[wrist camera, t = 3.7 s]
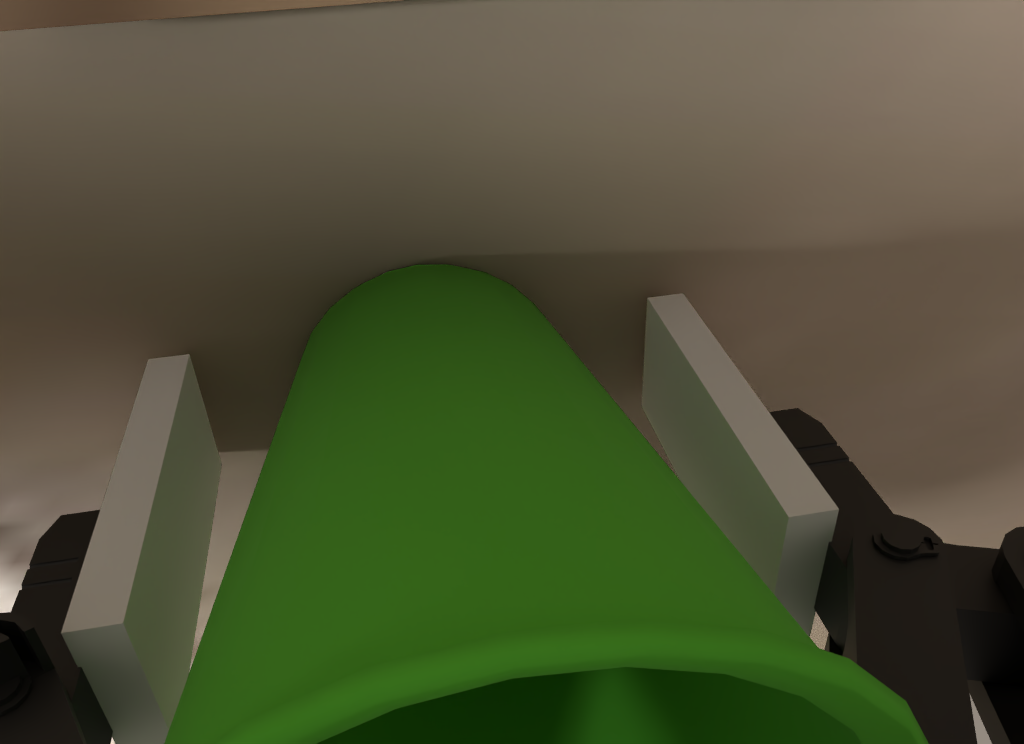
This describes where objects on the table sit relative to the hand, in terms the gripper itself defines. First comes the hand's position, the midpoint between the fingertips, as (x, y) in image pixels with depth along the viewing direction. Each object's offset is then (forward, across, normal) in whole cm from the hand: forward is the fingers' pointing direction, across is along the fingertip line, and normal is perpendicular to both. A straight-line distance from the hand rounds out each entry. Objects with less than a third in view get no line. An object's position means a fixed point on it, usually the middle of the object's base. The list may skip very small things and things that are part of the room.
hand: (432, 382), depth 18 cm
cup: (+1, 0, 0) cm, 1 cm away
